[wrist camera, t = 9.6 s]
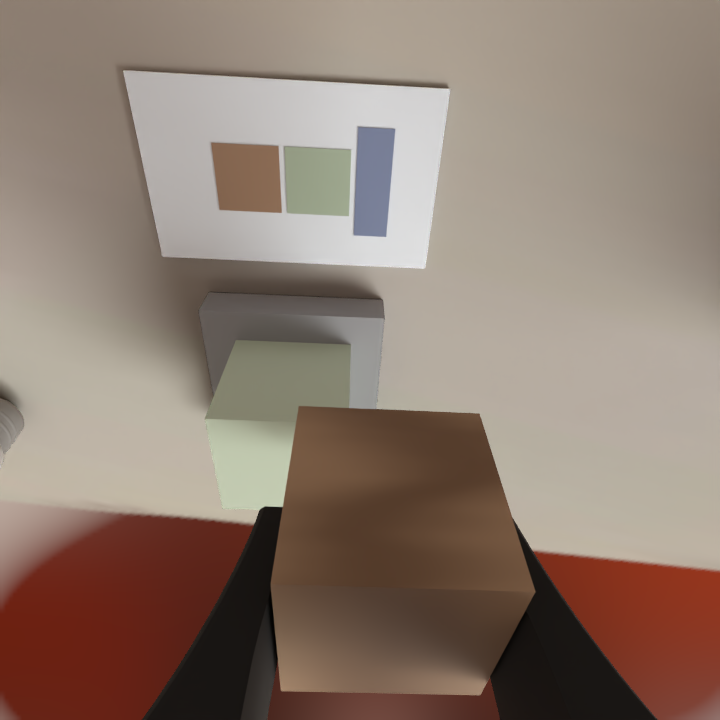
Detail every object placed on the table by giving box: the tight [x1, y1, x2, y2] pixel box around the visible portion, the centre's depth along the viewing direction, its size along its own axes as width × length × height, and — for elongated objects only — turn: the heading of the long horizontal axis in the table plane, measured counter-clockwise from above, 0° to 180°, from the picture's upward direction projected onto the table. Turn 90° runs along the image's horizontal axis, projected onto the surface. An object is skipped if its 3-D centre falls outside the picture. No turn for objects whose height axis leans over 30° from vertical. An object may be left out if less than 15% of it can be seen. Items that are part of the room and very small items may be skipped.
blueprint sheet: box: [123, 70, 450, 269], centre depth 16 cm, size 10×6×1 cm, turn 87°
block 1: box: [205, 340, 351, 510], centre depth 18 cm, size 4×4×4 cm
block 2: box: [271, 406, 535, 695], centre depth 11 cm, size 4×4×4 cm
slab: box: [199, 292, 385, 409], centre depth 20 cm, size 7×7×2 cm
